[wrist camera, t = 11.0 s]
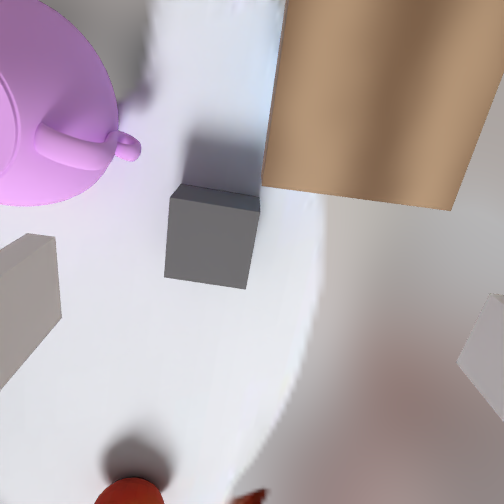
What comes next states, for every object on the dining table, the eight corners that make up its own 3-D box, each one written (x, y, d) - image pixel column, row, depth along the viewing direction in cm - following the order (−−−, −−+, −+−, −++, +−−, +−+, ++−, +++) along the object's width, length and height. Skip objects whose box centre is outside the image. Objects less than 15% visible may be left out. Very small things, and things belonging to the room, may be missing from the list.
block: (261, 174, 22) (261, 185, 19) (291, -39, 18) (298, -64, 15) (427, 197, 23) (450, 211, 20) (497, -6, 18) (540, -23, 16)
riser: (175, 255, 33) (164, 277, 29) (181, 184, 31) (169, 197, 27) (246, 266, 34) (245, 289, 30) (259, 196, 31) (259, 212, 27)
